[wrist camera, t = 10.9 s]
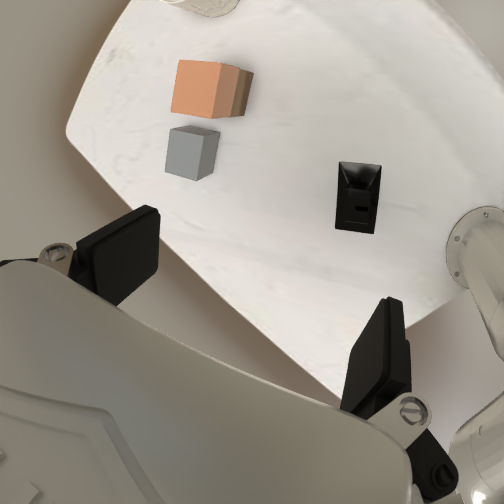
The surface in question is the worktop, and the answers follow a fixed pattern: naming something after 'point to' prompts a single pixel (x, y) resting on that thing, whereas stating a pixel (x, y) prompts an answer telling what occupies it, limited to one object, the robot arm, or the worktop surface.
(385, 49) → the worktop surface
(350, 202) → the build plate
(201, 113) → the terracotta block
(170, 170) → the slate grey block
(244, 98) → the walnut block
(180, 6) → the white cup
